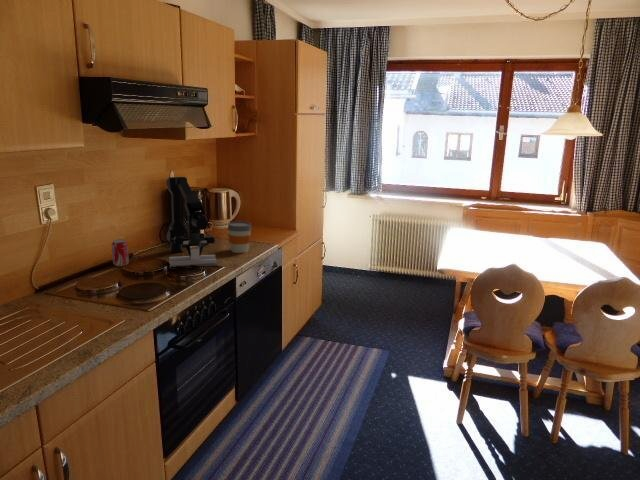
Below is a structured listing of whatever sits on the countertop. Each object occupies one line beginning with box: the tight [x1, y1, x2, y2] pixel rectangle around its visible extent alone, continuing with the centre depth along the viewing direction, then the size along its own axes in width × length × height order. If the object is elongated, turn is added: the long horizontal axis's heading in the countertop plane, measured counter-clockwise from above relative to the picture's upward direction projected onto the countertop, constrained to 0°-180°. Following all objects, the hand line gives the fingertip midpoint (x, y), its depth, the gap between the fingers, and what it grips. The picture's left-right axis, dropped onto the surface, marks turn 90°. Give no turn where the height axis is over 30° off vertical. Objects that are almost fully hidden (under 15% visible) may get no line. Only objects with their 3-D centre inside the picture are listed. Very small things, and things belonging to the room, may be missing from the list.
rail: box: [168, 254, 218, 269], centre depth 230 cm, size 10×22×3 cm, turn 108°
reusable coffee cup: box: [227, 221, 252, 254], centre depth 255 cm, size 13×13×15 cm
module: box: [189, 245, 201, 260], centre depth 229 cm, size 5×4×6 cm
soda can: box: [111, 238, 129, 267], centre depth 223 cm, size 7×7×12 cm
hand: (194, 256), depth 230 cm, fingers closed on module, 4 cm apart
